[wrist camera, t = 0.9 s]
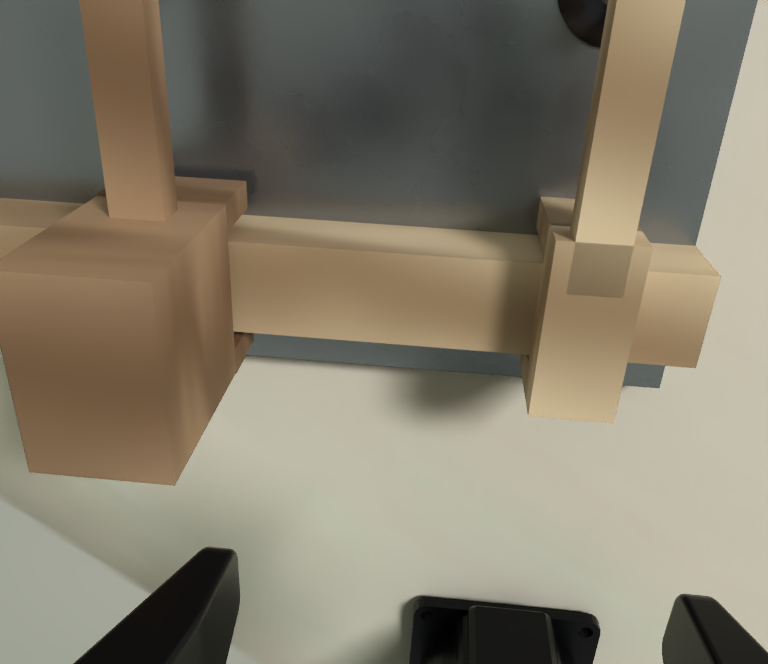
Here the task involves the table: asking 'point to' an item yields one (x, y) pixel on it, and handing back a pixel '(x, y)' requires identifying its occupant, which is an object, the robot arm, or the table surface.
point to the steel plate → (376, 120)
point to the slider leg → (124, 285)
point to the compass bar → (498, 258)
